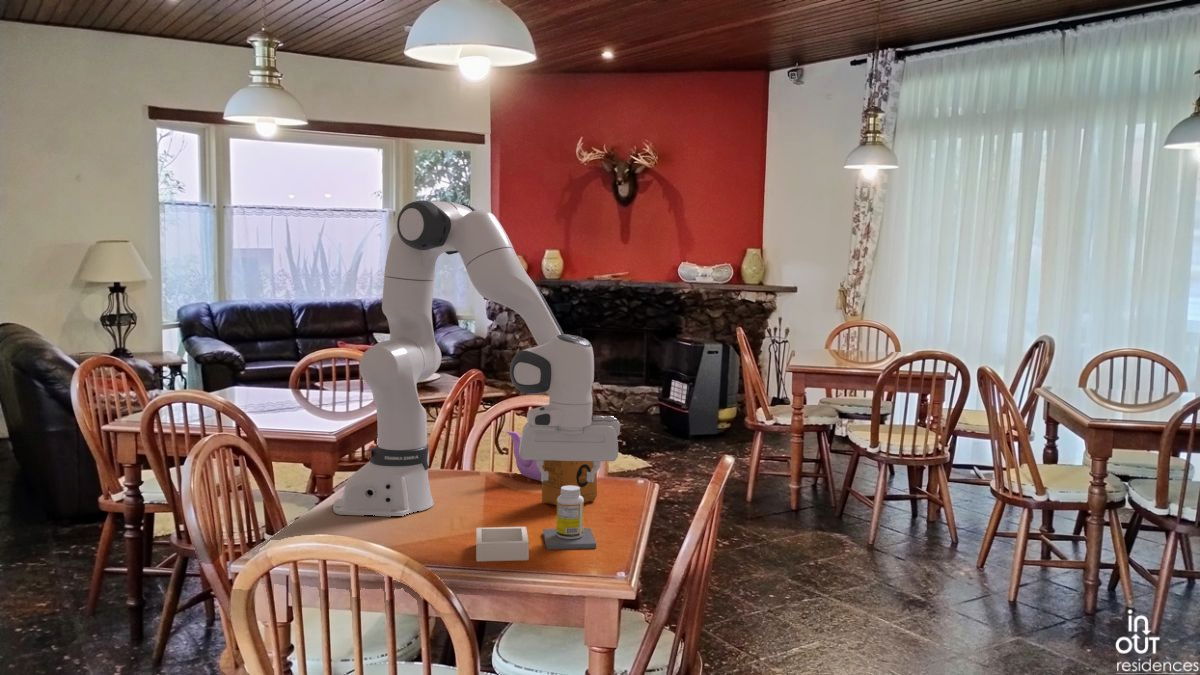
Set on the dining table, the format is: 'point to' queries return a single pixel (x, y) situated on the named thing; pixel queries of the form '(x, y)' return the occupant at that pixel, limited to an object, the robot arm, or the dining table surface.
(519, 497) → the dining table surface
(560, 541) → the coaster
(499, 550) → the pocket
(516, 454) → the teapot
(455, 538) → the dining table surface
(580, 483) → the coffee package
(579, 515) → the supplement bottle
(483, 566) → the dining table surface
